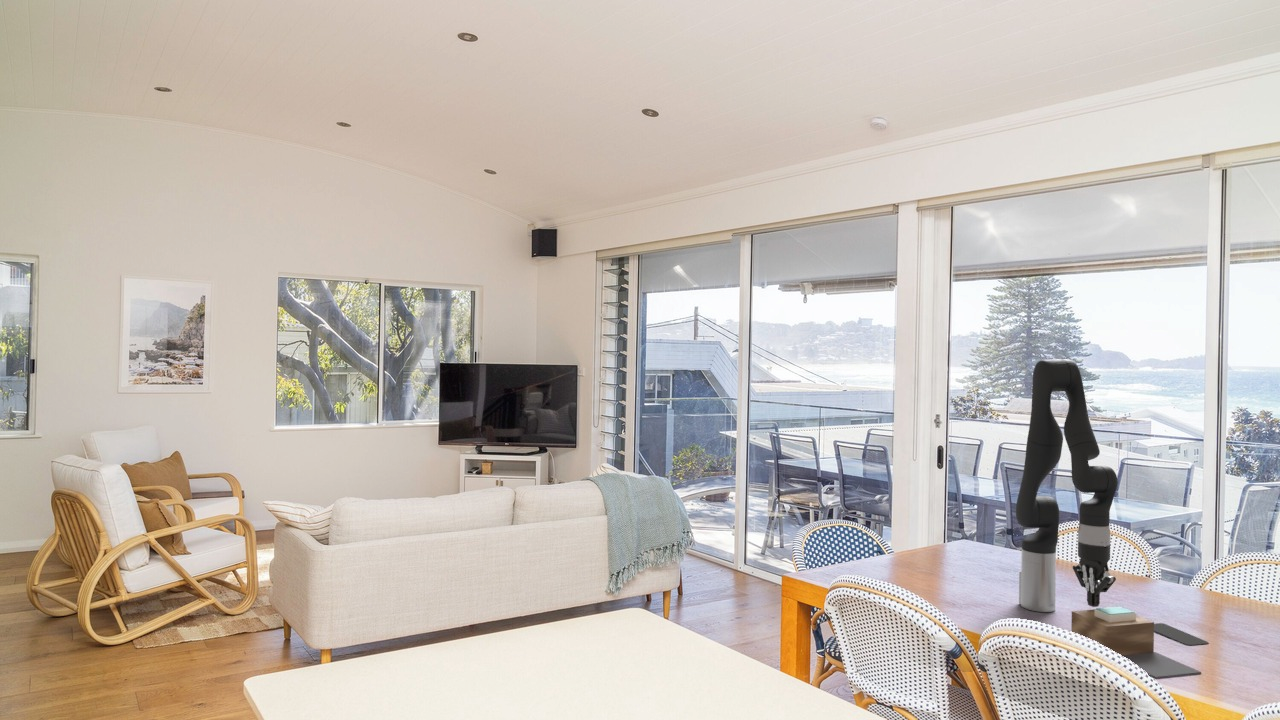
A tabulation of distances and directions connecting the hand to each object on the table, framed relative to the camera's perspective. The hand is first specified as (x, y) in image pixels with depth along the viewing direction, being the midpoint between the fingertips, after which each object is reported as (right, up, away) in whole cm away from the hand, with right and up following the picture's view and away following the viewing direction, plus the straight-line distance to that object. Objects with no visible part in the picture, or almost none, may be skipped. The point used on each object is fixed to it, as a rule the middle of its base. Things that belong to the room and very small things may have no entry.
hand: (1093, 605), depth 217 cm
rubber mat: (+5, -9, -18) cm, 21 cm away
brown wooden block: (+1, -9, -6) cm, 11 cm away
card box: (+2, -1, -7) cm, 7 cm away
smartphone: (+24, -10, +3) cm, 26 cm away
